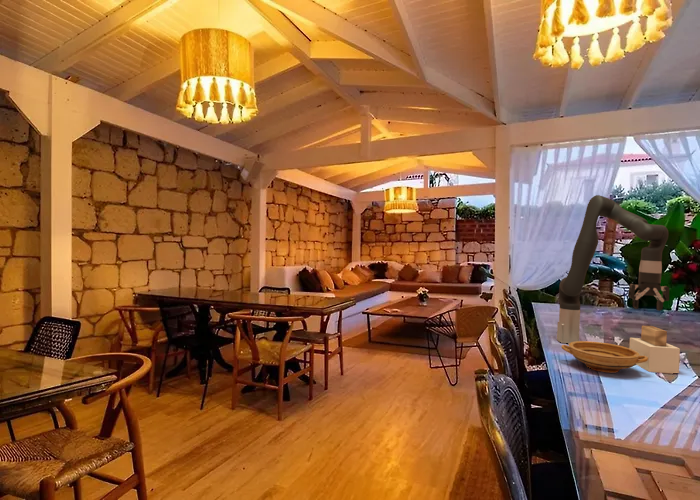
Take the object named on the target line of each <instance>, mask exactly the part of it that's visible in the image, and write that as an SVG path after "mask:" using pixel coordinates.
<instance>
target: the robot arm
mask: <svg viewBox="0 0 700 500" xmlns="http://www.w3.org/2000/svg"><path fill="white" fill-rule="evenodd" d="M585 209H586V210H585V214H584V217H583V221H582V225H581V227H580V232H579V234H578V236H577V239H576V242H575V244H574V247H573V251H572V255H571V265H570V268H569V271H568V273H567V275H566V277H564V278H562V279H561V280H560V282H559V286H558V287H559V289H558V301H559V313H558V315H559V317H558V321H557V324H556V325H557V328H556V329H557V330H556V341H558V342H559V343H560V342H561V344H566V343H568V344H567V345H569V343H571V342H576V341H580V329H581V328H580V325H581V324H580V323H581V322H580V321H581V302H580V294H581V292H582V291H583V288H584V283H585V280H586V276H587V272H588V270H589V267H590V264H591V263H592V260H593V259H594V256H595V253H596V251H597V248H598V246H599V236H598V235H599V234H598V231H597V224H598V219H599V218H600V217H604V218H606V219H607V218H608V219H610V220H614V221H616V222H617V223H618V224H619V225H620V226H622V227H623V228H625V229H627V230H628V231H631V232H632V233H633V234H634V235H635V236H636V237H637V238H638V239H640V240H642V241H645V242H650V244H649V245H648V246H645V247H642V248H641V253H640V254H641V255H640V262H639V268H638V284H634V283H630V284H629V285H628V286H629V288H628V293H627V294H628V295H627V297H628V298H630V299H632V307H633V308H634V309H635V310H638V309H639V299H641V298H642V297H643V296H651V297H655V299H656V300H657V301H656V311H658V312H659V311H662V310H663V309H664V308H663V307H664V302H669V301H670V287H669V286H667V285H664V286H663V285H662V286H661V282H662V281H661V280H662V273H663V272H662V269H663V265H662V263H663V262H662V261H663V260H662V259H663V251H664V249H665V246H666V243H667V241H668V239H669V230H668V228H667V227H666V226H665V225H663V224H650V223H649V222H648V220H647V219H645V218H644V217H642V216H639V214H638V215H637V214H635V213H633V212H630V211H628V210H626V209H625V208H623V207H621V206H620V205H619V204H618V203H617V202H616V201H614V200H613V199H611V198H609V197H605V196H603V195H599V194H598V195H597V194H596V195H593V197H591V198H590V199H589V201H588V203H587V206H586V208H585ZM637 289H638V290H637ZM636 290H637V292H636V293H635V291H636ZM660 291H661V292H662V294H660Z"/></svg>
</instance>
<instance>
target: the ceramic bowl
mask: <svg viewBox="0 0 700 500" xmlns="http://www.w3.org/2000/svg"><path fill="white" fill-rule="evenodd" d="M560 347H561V349H562V350H563V351H565V352H567V353H569V354H570V355H572V356H573V357H574V358H575V359H576V360H578V361H579V362H581V363H583V364H585V366H586V367H587V368H588V367H589V368H588V369H590V368H591V369H590V370H594V371H597V372H603V373H612V374H613V373H618V372H619V371H620V370H625V369H630V368H632V367H633V366H636V364H638V363H642V362H646V361H647V360H648V357H646V356H640V354H639V353H638V352H637V351H635V350H632V349H630V348H629V347H626V346H622V345H618V344H614V343H607V342H600V341H592V340H591V341H586V340H579V341H576V342H571V343H569V344H562V345H561V346H560ZM638 359H641V360H638Z"/></svg>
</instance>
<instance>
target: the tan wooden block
mask: <svg viewBox="0 0 700 500" xmlns="http://www.w3.org/2000/svg"><path fill="white" fill-rule="evenodd" d="M640 333H641V336H640V338H641V340H642V341H644V342H646V343H649V344H651V345H653V346H660V347H666V343H667V340H668V339H667V337H668V335H667V334H668V331H667V330H664V329H662V328H659V327H655V326H653V325H641V332H640Z"/></svg>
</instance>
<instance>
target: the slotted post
mask: <svg viewBox="0 0 700 500" xmlns="http://www.w3.org/2000/svg"><path fill="white" fill-rule="evenodd" d="M628 348H630V349H632V350H635V351H637V352H638V353H639V354H640V356H646V357H648V360H647V361H646V362H642V363H638V364H635V366H636V365H637V366H638V367H639V368H641V369H643V370H645V371H647V372H649V373H659V374H660V373H661V374H673V373H680V355H681V354H680V352H681V351H680V350H681V349H680V348H679V347H677V346H675V345H672V344H669V343H667V342H666V347H660V346H653V345H651V344H649V343H646V342H644V341H642V340H641V337H639V338H638V337H629V347H628ZM638 360H641V359H638Z"/></svg>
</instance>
